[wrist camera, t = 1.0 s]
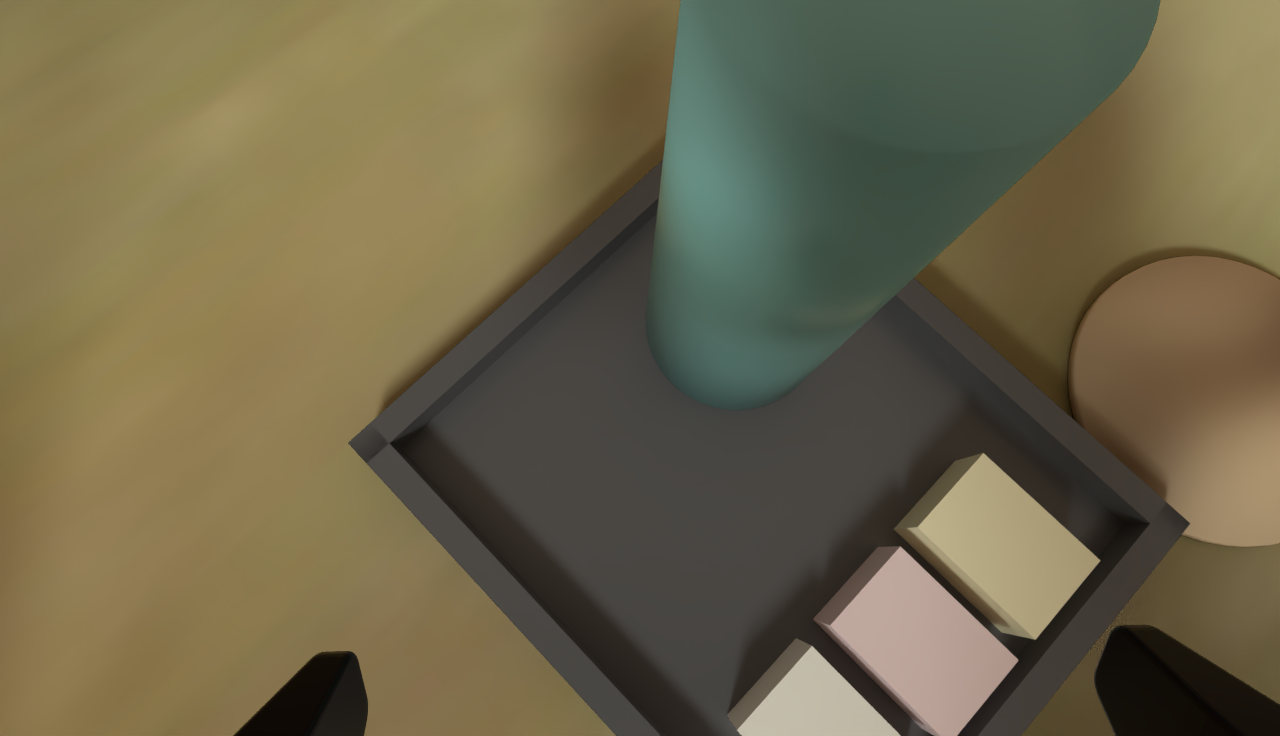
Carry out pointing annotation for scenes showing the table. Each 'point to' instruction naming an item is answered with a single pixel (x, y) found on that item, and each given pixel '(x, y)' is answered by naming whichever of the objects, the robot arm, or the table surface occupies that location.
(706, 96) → the teal cylinder
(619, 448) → the condiment tray
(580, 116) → the table surface
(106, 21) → the table surface
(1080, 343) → the cork coaster
